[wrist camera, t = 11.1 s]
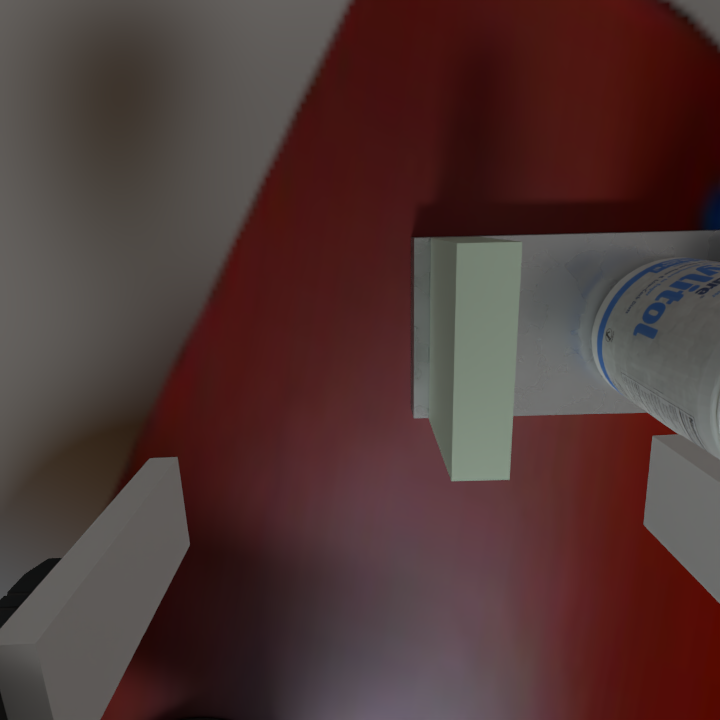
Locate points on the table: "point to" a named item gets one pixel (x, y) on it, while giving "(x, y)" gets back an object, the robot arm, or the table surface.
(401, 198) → the table surface
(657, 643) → the table surface
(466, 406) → the block
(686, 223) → the table surface
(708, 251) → the vise
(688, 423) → the supplement tub
